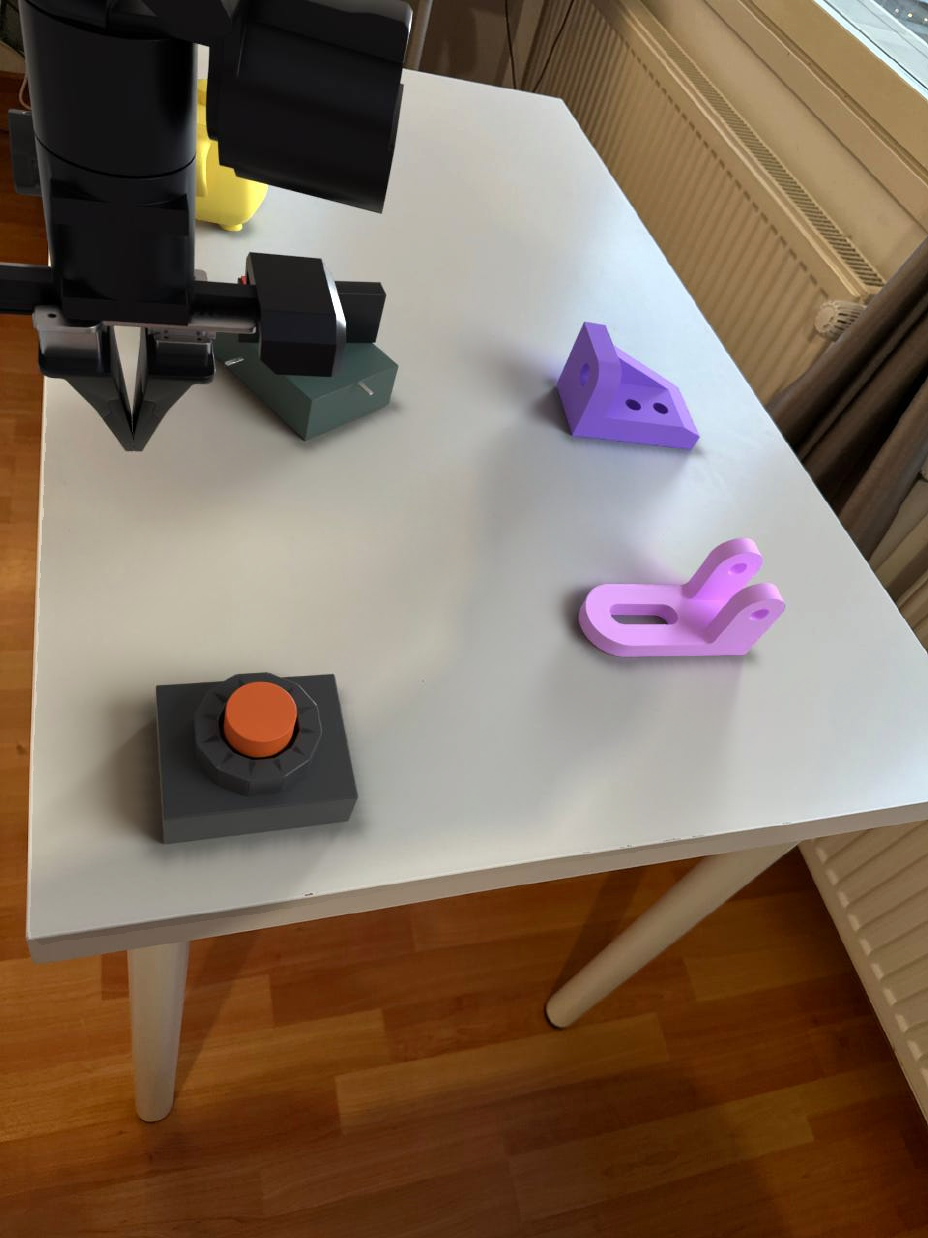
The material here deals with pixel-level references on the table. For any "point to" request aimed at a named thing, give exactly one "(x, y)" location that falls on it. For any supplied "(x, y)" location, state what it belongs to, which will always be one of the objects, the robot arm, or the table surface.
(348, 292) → the black bar
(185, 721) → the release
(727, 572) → the bracket
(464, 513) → the table surface
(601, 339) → the bracket
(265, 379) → the dark green flat block
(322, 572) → the table surface
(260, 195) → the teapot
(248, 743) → the release button
